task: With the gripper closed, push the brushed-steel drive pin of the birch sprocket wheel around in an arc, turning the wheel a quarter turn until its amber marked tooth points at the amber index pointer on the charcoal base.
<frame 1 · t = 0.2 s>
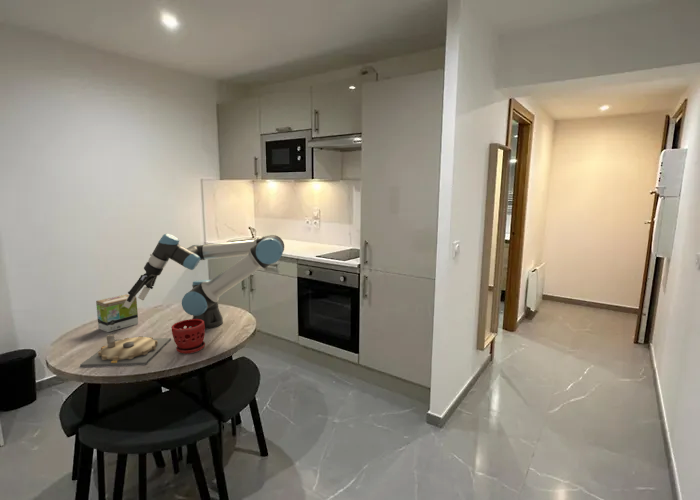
hand: (133, 302, 179), 16 cm above the table, tool tilted 30°, fingers open, 13 cm apart
plant pot: (190, 350, 166), on the table
sprocket: (128, 342, 162), point 5 cm above the table, hinge at 0.0°
tea box: (119, 326, 194), on the table
sprocket base: (129, 352, 163), on the table
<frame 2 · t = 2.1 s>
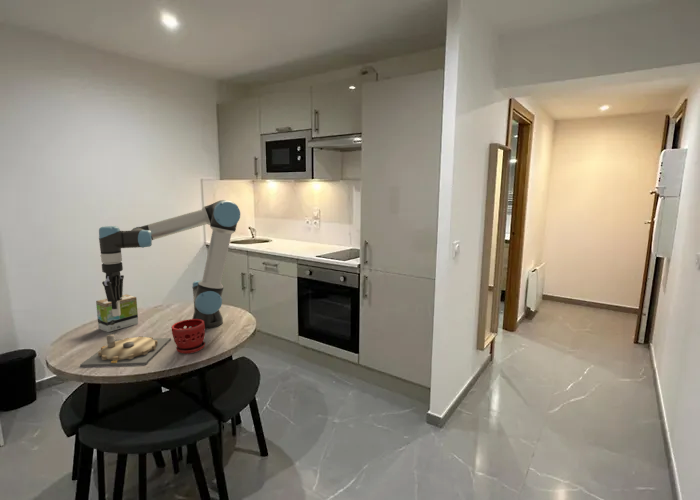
hand: (116, 315, 167), 14 cm above the table, tool pointing down, fingers closed
nothing on the table moved.
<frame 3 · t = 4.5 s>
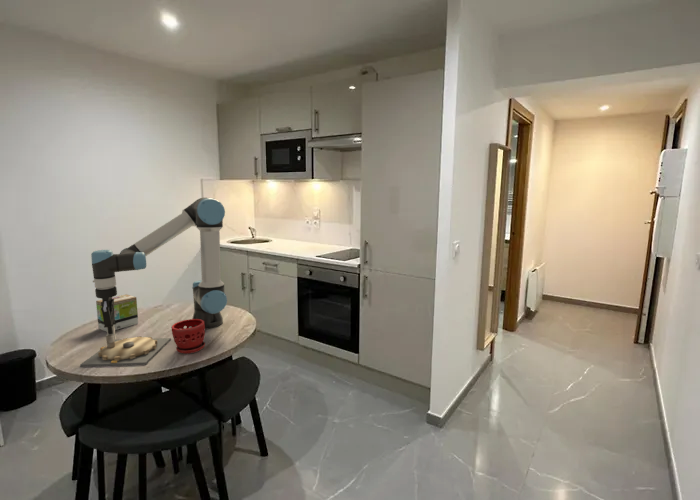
hand: (112, 340, 163), 5 cm above the table, tool pointing down, fingers closed
sprocket: (128, 342, 162), point 5 cm above the table, hinge at 3.1°, touching gripper
everything else where it was.
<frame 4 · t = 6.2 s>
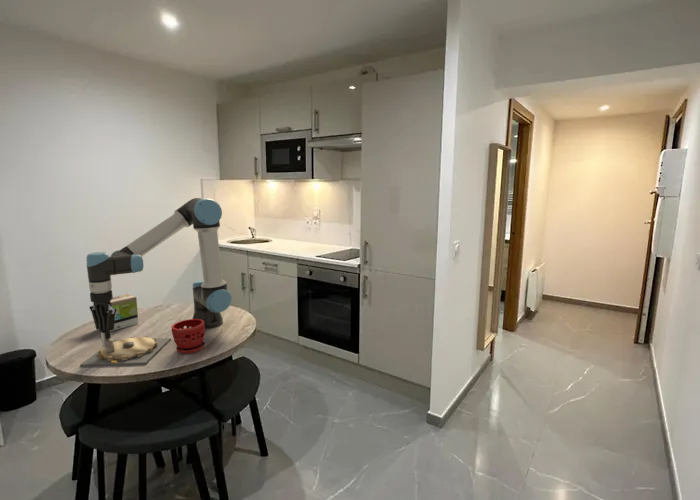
hand: (106, 346, 158), 5 cm above the table, tool pointing down, fingers closed
sprocket: (128, 342, 162), point 5 cm above the table, hinge at 47.8°, touching gripper
everything else where it was.
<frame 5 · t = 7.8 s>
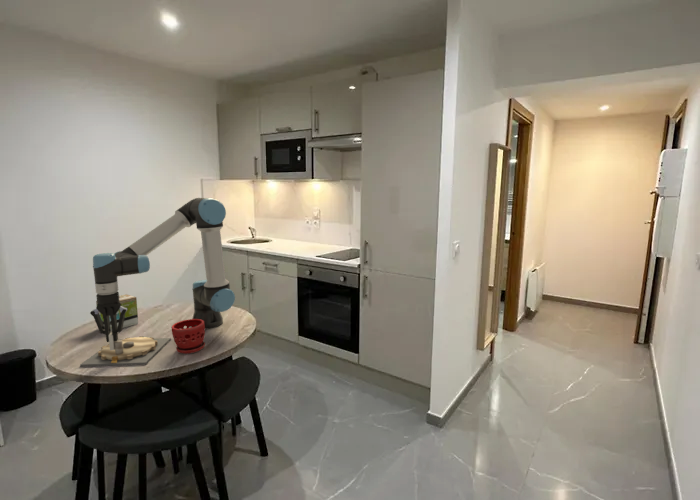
hand: (113, 348, 155), 5 cm above the table, tool pointing down, fingers closed
sprocket: (128, 342, 162), point 5 cm above the table, hinge at 88.2°, touching gripper
everything else where it was.
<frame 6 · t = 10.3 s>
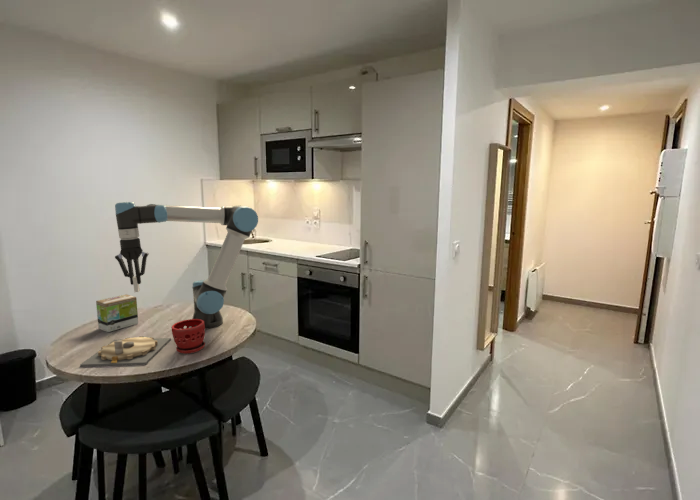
hand: (137, 291, 168), 24 cm above the table, tool pointing down, fingers closed
sprocket: (128, 342, 162), point 5 cm above the table, hinge at 88.2°
everything else where it was.
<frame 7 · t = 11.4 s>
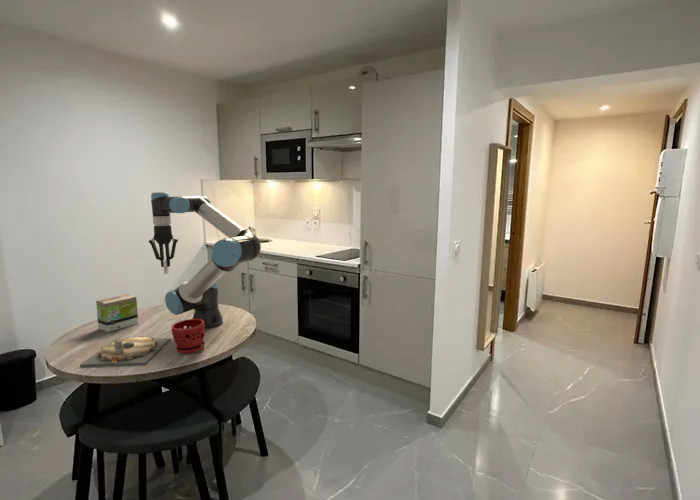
hand: (166, 273, 185), 28 cm above the table, tool pointing down, fingers closed
nothing on the table moved.
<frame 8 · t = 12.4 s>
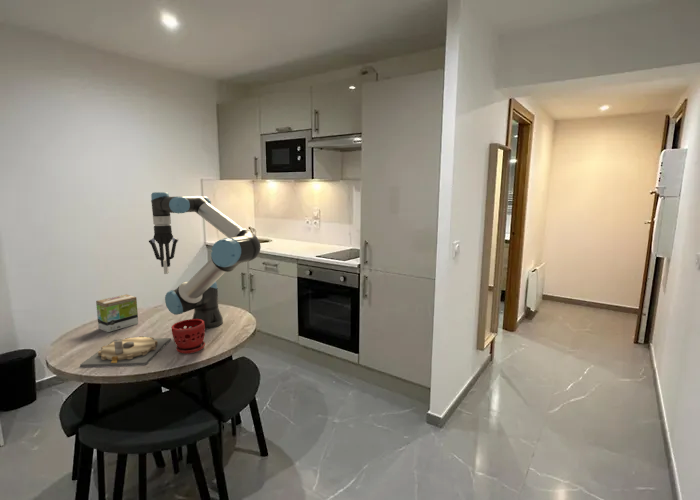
hand: (166, 273, 185), 28 cm above the table, tool pointing down, fingers closed
nothing on the table moved.
at the end: sprocket at +88° (first picture: +0°) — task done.
